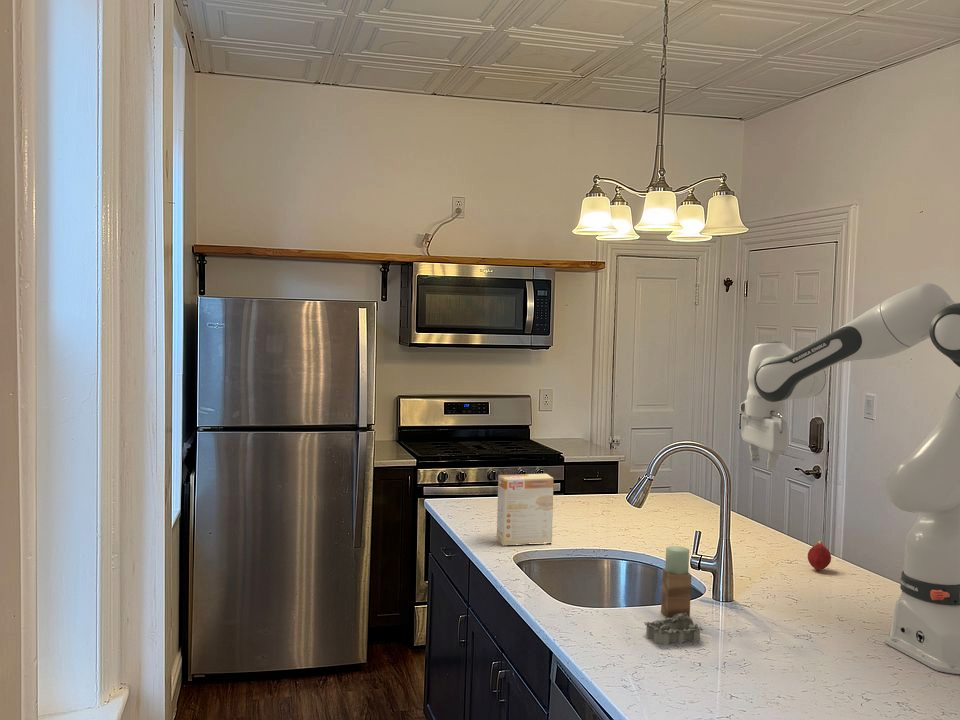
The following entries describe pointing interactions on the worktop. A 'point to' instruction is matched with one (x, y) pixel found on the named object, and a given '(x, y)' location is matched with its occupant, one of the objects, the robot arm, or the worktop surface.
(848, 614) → the worktop surface
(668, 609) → the block low
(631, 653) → the worktop surface
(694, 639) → the egg carton
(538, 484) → the coffeecake box
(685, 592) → the block mid
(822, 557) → the onion
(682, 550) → the pale green cylinder
